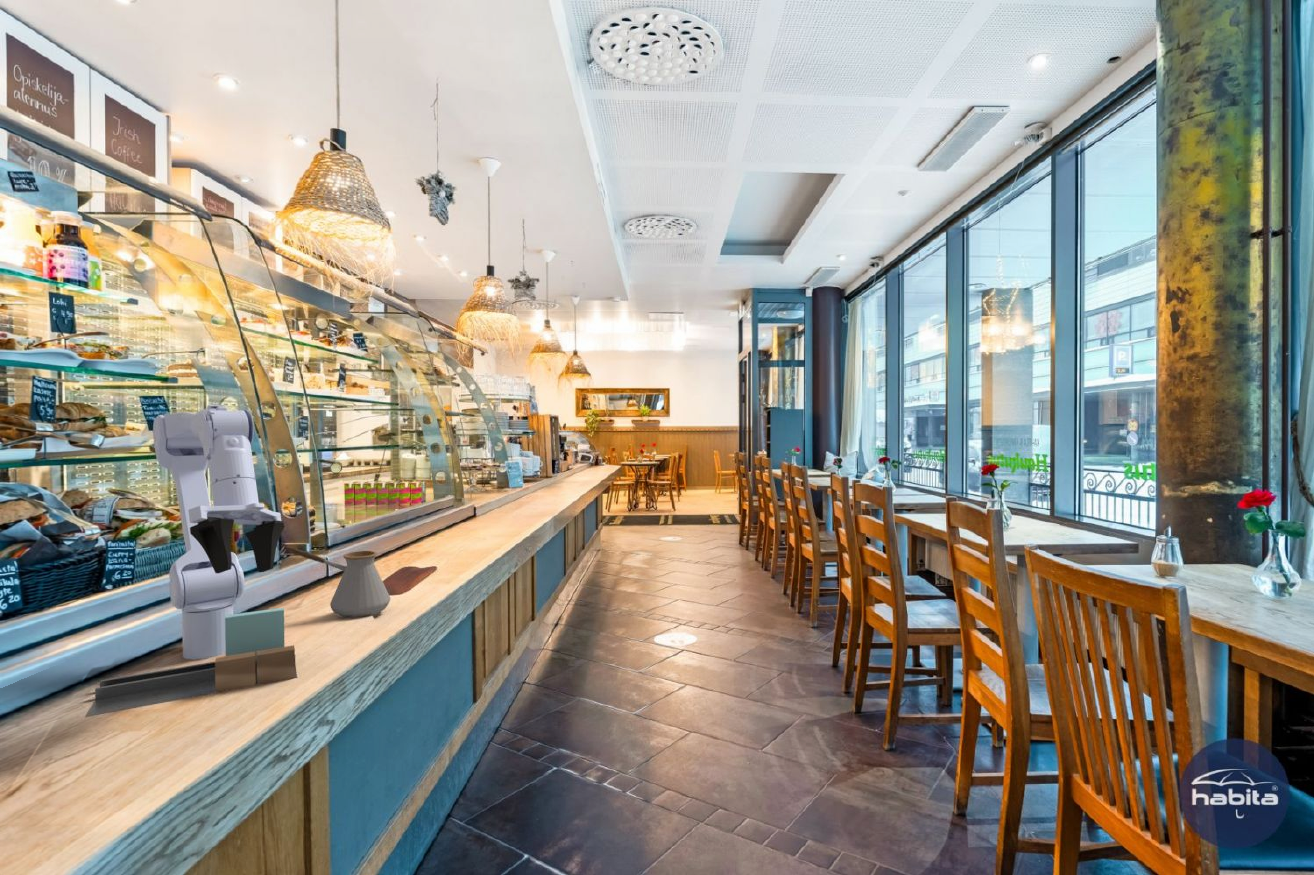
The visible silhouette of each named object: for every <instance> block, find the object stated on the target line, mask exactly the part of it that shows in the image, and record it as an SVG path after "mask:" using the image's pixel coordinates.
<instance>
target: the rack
mask: <svg viewBox="0 0 1314 875" xmlns="http://www.w3.org/2000/svg"><path fill="white" fill-rule="evenodd" d="M255 666H256V685H253V686H248V687H247V688H249V687H250V688H251V687H255V686H260V685H262V684H258V685H257V661H255ZM296 666H297V664H296V662H295V678H291V679H290V680H292V679H298V675H297V673H298V672H297V667H296ZM288 680H289V679H285V680H280V681H275V682H274V683H278V682H282V681H288ZM271 683H273V682H269V683H264V684H263V685H265V684H271ZM244 688H246V687H242V688H237V689H236V690H238V689H244ZM233 690H235V689H231V690H226V691H221V692H220V693H223V692H227V691H233ZM218 693H219V692H216V688H215V661H208V662H203V663H199V664H193V665H192V664H191V665H186V666H179V667H174V668H168V669H162V670H155V671H149V672H143V673H137V674H132V675H125V676H118V677H112V678H106V679H100V681H99V686H98V687H95V688H94V694H95V695H94V696H95V700H94V701H93V703H92V705H91V706H90V708H89V710H88V712H87V713H86V715H85V718H88V717H94V716H99V715H103V714H104V715H105V714H109V713H116V712H120V711H126V710H131V709H137V708H142V707H148V706H153V705H159V704H164V703H169V702H174V701H180V700H187V699H191V698H196V697H201V696H207V695H212V694H218Z"/></svg>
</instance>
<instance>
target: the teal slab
mask: <svg viewBox="0 0 1314 875" xmlns="http://www.w3.org/2000/svg"><path fill="white" fill-rule="evenodd" d="M225 644H226V653H225V656H231V655H237V654H243V653H249V652H255V661H257V651H262V650H268V649H274V648H280V647H285V609H284V607H278V608H271V609H263V610H256V611H250V612H249V611H248V612H240V613H233V614H232V615H225Z"/></svg>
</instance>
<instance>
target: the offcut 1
mask: <svg viewBox="0 0 1314 875" xmlns="http://www.w3.org/2000/svg"><path fill="white" fill-rule="evenodd" d="M214 662H215V688H216V692H218V693H222V692H221V691H224V692H227V691H226V690H229V691H232V690H231V689H234V690H238V689H237V688H240V689H243V688H242V687H245V688H249V687H248V686H251V687H254V686H253V685H256V666H255V652H249V653H243V654H237V655H231V656H226V655H225V656H217V657H215V660H214ZM256 686H257V685H256Z"/></svg>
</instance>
